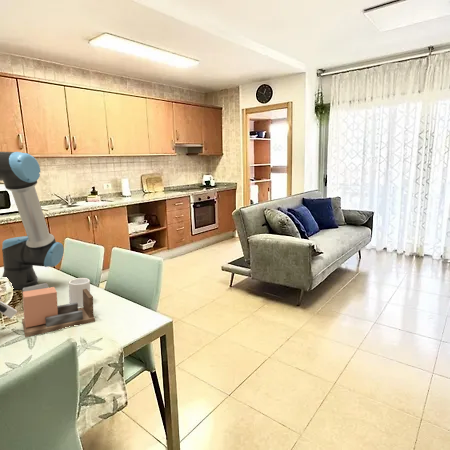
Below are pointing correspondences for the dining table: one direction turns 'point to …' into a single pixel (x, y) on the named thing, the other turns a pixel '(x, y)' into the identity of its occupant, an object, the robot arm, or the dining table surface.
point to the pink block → (39, 305)
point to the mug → (78, 290)
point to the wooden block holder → (65, 317)
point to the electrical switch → (36, 287)
